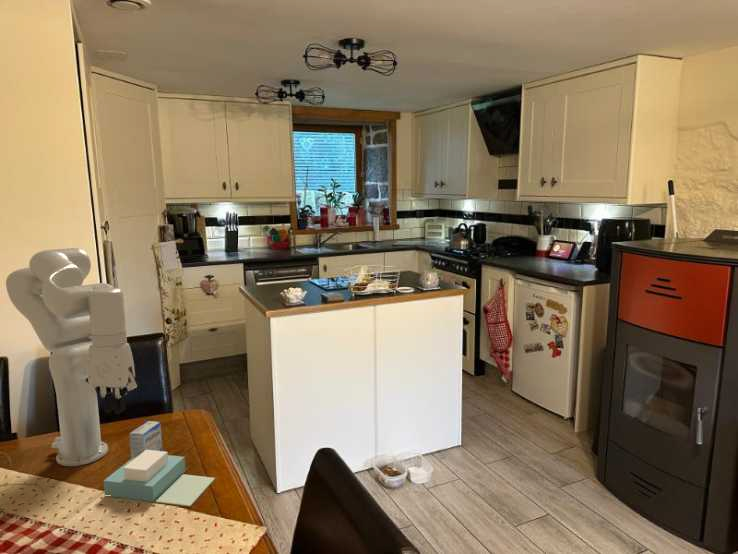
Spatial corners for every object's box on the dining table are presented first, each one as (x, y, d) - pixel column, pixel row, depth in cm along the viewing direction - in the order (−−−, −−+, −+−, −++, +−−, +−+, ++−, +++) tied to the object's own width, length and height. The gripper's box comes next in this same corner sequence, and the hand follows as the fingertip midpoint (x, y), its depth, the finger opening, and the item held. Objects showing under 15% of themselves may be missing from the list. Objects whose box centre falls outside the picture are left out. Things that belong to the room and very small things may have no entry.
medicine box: (145, 464, 138) (143, 434, 136) (131, 462, 139) (128, 432, 137) (163, 450, 145) (161, 421, 144) (149, 448, 146) (146, 420, 145)
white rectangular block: (124, 479, 123) (123, 467, 123) (147, 460, 132) (146, 449, 132) (146, 481, 122) (145, 470, 122) (168, 462, 131) (167, 451, 130)
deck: (104, 495, 123) (103, 480, 123) (141, 466, 137) (140, 452, 136) (153, 502, 121) (152, 486, 120) (185, 471, 135) (184, 456, 134)
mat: (155, 502, 121) (155, 501, 121) (183, 475, 132) (182, 474, 132) (190, 506, 119) (190, 505, 119) (215, 478, 131) (215, 477, 131)
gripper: (68, 341, 121) (76, 415, 124) (128, 345, 118) (134, 420, 121) (91, 333, 128) (97, 402, 131) (148, 336, 125) (153, 407, 128)
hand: (115, 410), depth 126 cm, fingers closed
